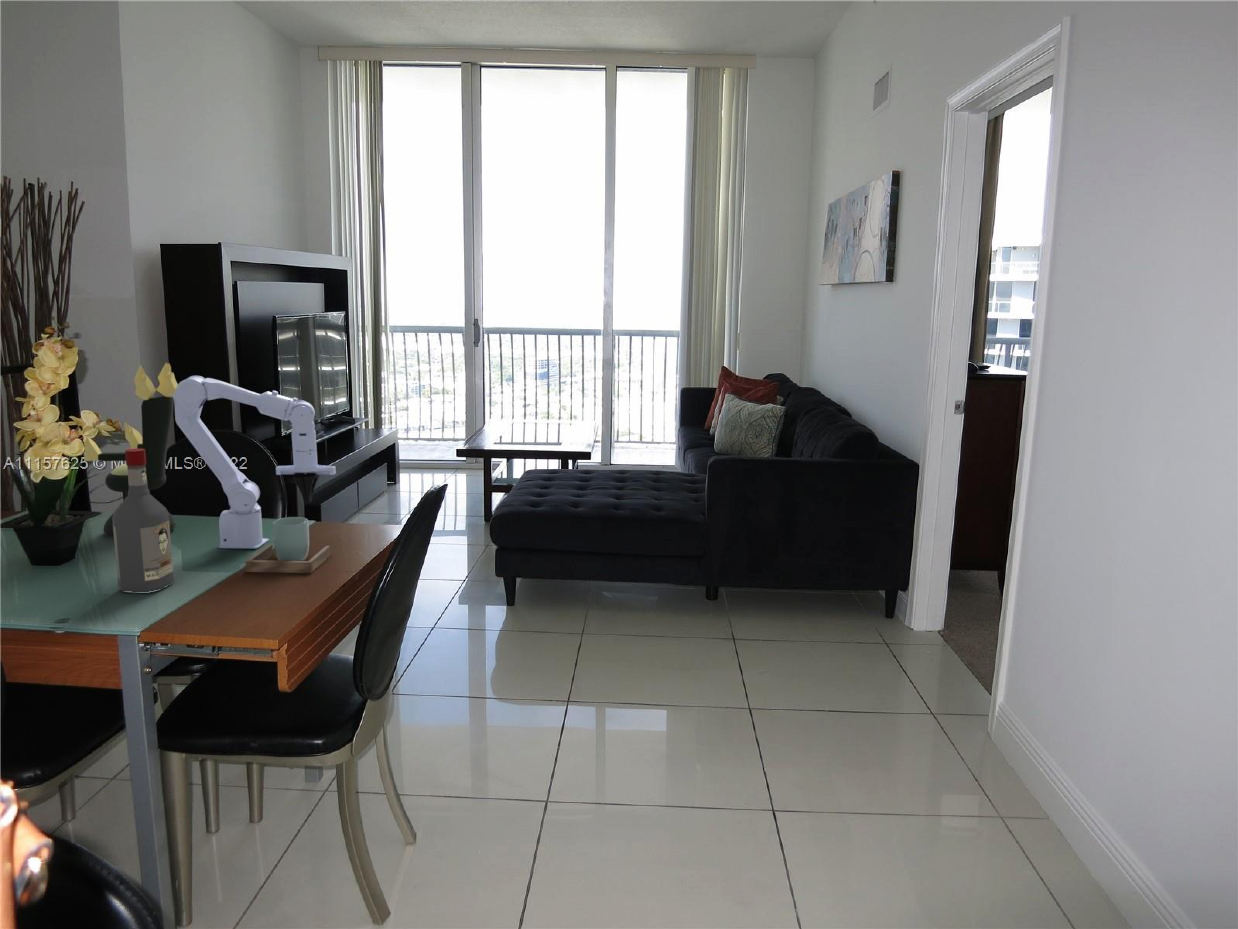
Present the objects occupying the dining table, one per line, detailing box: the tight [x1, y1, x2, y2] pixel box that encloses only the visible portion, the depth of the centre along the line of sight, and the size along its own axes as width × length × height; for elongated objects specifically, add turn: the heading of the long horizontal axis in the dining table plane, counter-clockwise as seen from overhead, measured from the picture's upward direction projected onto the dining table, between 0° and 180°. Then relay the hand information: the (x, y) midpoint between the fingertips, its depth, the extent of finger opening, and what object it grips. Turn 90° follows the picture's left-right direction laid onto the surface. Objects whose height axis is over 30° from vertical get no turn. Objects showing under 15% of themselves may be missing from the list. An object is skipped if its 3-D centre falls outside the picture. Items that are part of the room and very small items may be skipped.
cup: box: [272, 516, 310, 561], centre depth 206 cm, size 8×8×10 cm
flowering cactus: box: [83, 362, 179, 539], centre depth 225 cm, size 19×22×45 cm
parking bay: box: [244, 544, 331, 574], centre depth 206 cm, size 15×14×2 cm
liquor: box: [112, 448, 175, 592], centre depth 185 cm, size 9×9×30 cm
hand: (308, 502), depth 222 cm, fingers closed
